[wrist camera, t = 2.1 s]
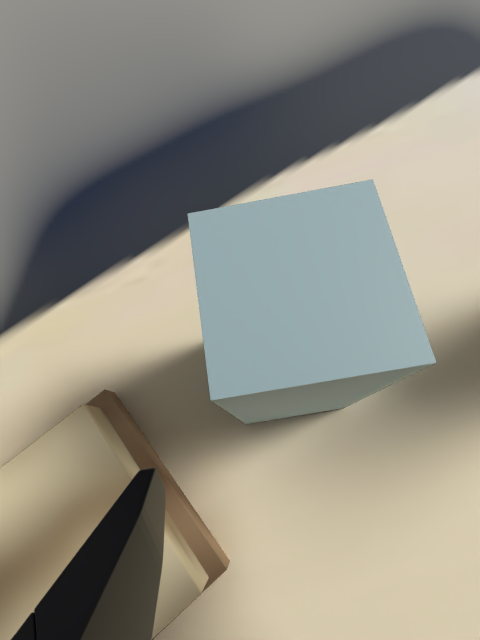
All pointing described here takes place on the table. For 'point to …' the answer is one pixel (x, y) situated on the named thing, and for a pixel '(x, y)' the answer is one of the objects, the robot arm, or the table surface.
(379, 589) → the table surface
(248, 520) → the table surface
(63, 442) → the birch slab
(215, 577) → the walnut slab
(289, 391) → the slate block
